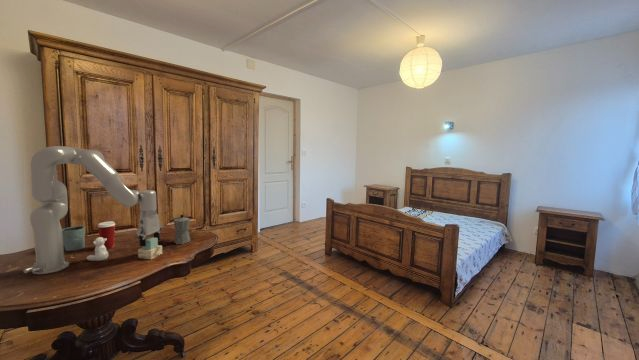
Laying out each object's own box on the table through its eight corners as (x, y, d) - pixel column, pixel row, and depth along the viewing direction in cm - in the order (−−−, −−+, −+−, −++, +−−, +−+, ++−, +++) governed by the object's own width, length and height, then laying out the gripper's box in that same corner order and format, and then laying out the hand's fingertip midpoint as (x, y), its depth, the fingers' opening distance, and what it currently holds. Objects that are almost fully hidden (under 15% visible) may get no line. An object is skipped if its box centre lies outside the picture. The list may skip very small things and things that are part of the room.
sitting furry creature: (107, 254, 147) (106, 233, 146) (115, 257, 143) (114, 236, 142) (86, 260, 139) (84, 238, 137) (93, 263, 135) (92, 241, 133)
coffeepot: (190, 244, 165) (190, 216, 163) (173, 246, 161) (172, 217, 159) (190, 237, 179) (189, 211, 177) (174, 238, 174) (173, 212, 172)
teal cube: (150, 249, 143) (150, 240, 142) (142, 248, 144) (142, 239, 143) (157, 246, 148) (157, 237, 147) (149, 245, 149) (149, 237, 148)
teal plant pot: (77, 251, 150) (76, 230, 148) (57, 251, 148) (56, 231, 147) (90, 244, 160) (89, 225, 158) (71, 245, 158) (70, 225, 157)
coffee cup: (120, 245, 160) (118, 221, 158) (108, 250, 152) (106, 225, 150) (107, 244, 161) (106, 220, 159) (94, 249, 153) (93, 224, 151)
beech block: (151, 259, 142) (151, 250, 141) (138, 258, 143) (137, 249, 143) (162, 254, 150) (162, 245, 149) (149, 252, 151) (149, 244, 150)
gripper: (141, 217, 135) (143, 249, 137) (166, 209, 152) (167, 238, 154) (129, 216, 136) (130, 248, 138) (154, 209, 153) (155, 237, 155)
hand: (150, 243), depth 146 cm, fingers open, 9 cm apart
